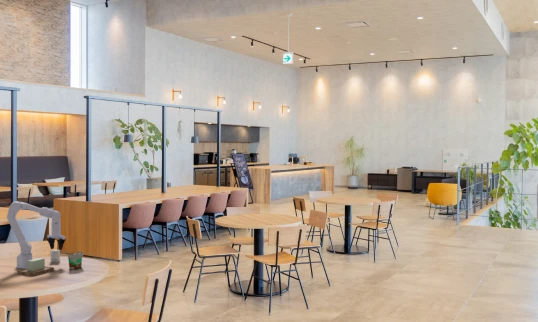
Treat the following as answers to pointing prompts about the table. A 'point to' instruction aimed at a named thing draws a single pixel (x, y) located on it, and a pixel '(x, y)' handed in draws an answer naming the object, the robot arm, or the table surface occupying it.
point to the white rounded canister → (55, 256)
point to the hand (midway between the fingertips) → (56, 249)
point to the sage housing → (36, 264)
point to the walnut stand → (36, 272)
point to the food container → (75, 261)
